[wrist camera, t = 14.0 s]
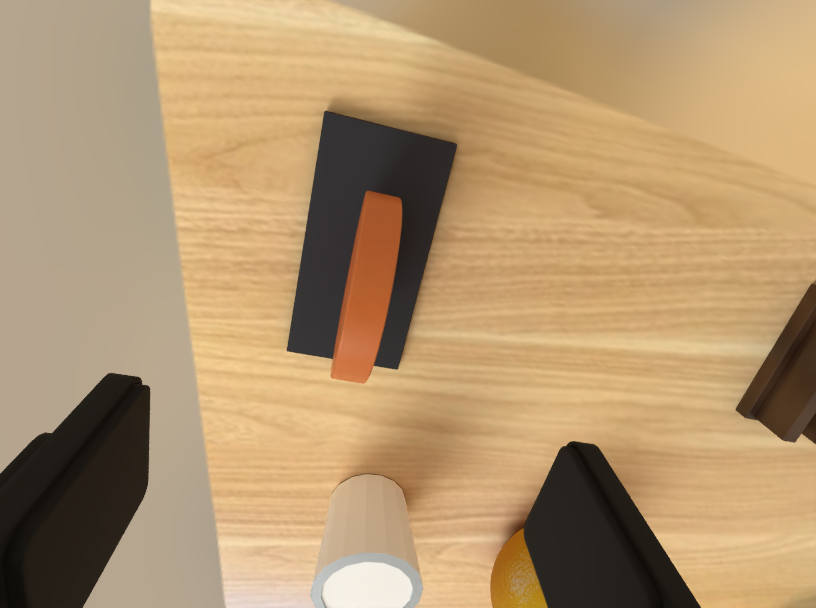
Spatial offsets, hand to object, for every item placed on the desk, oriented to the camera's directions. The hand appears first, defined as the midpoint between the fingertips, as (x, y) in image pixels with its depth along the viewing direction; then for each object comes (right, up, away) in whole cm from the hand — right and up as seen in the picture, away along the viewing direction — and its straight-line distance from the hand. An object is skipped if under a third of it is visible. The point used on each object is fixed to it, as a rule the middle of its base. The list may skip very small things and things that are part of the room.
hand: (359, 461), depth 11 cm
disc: (-1, +6, +16) cm, 17 cm away
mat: (-1, +6, +16) cm, 18 cm away
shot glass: (-2, -11, +24) cm, 27 cm away
